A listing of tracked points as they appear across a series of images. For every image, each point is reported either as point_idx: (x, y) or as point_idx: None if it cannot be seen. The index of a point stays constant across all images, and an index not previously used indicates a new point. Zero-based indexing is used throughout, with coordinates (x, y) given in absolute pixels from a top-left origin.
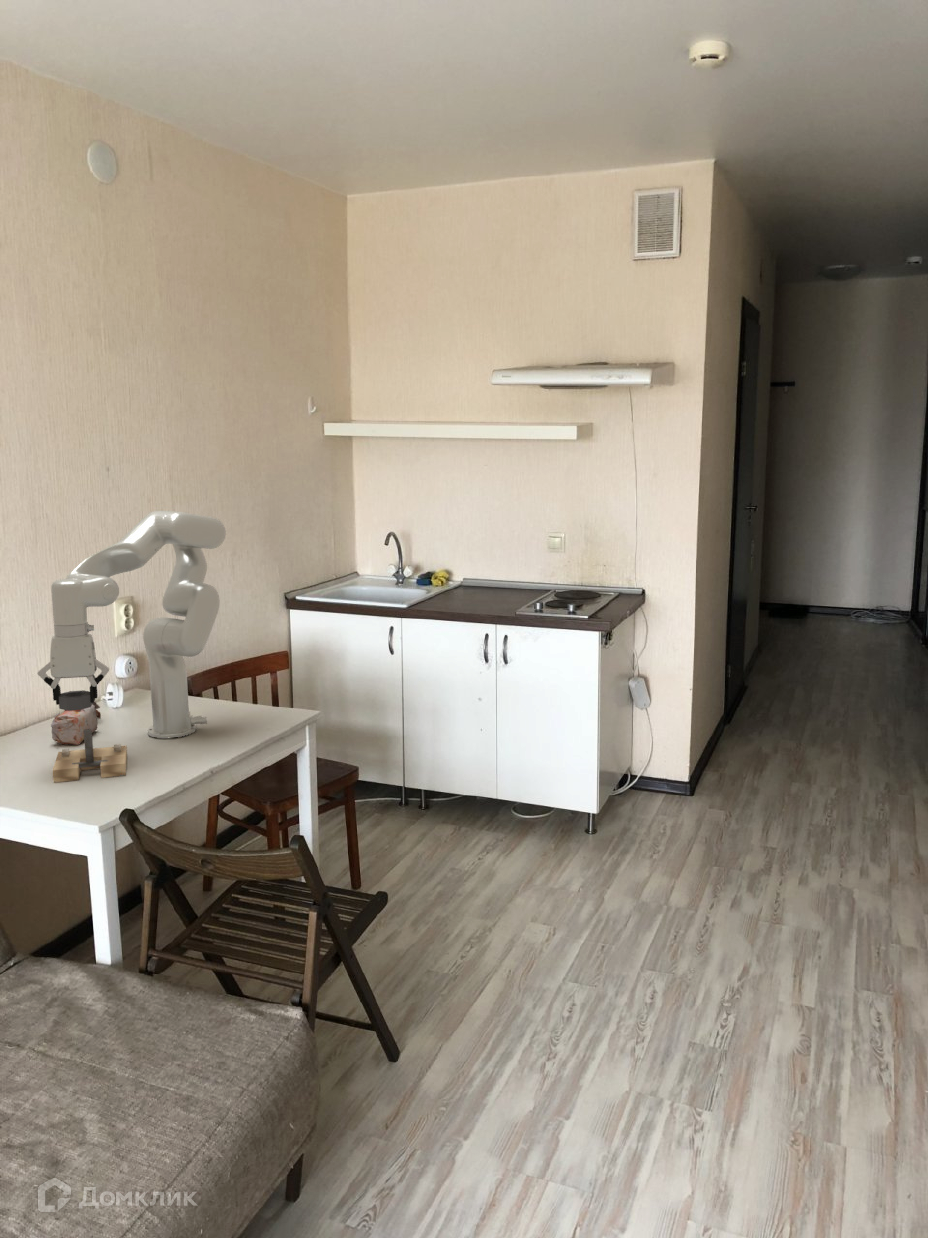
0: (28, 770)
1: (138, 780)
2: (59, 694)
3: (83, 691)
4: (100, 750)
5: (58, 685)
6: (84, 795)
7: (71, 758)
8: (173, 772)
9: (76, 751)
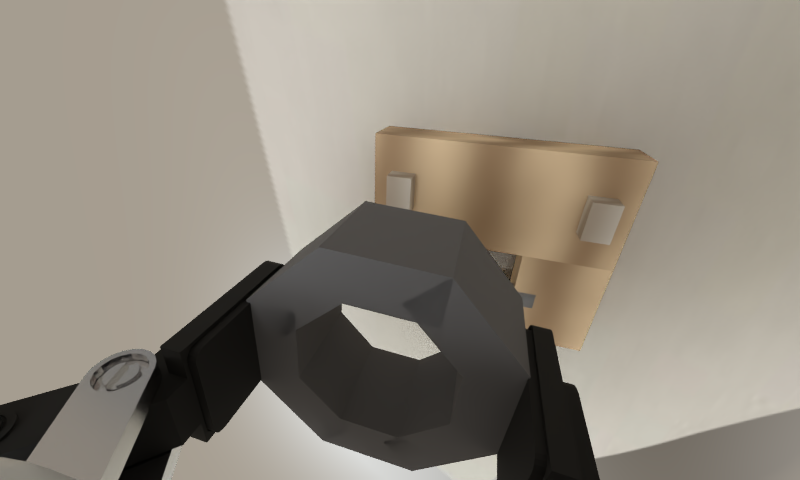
0: (308, 158)
1: (595, 370)
2: (251, 361)
3: (448, 318)
4: (530, 184)
5: (179, 410)
6: None
7: None
8: (723, 367)
9: (439, 158)
